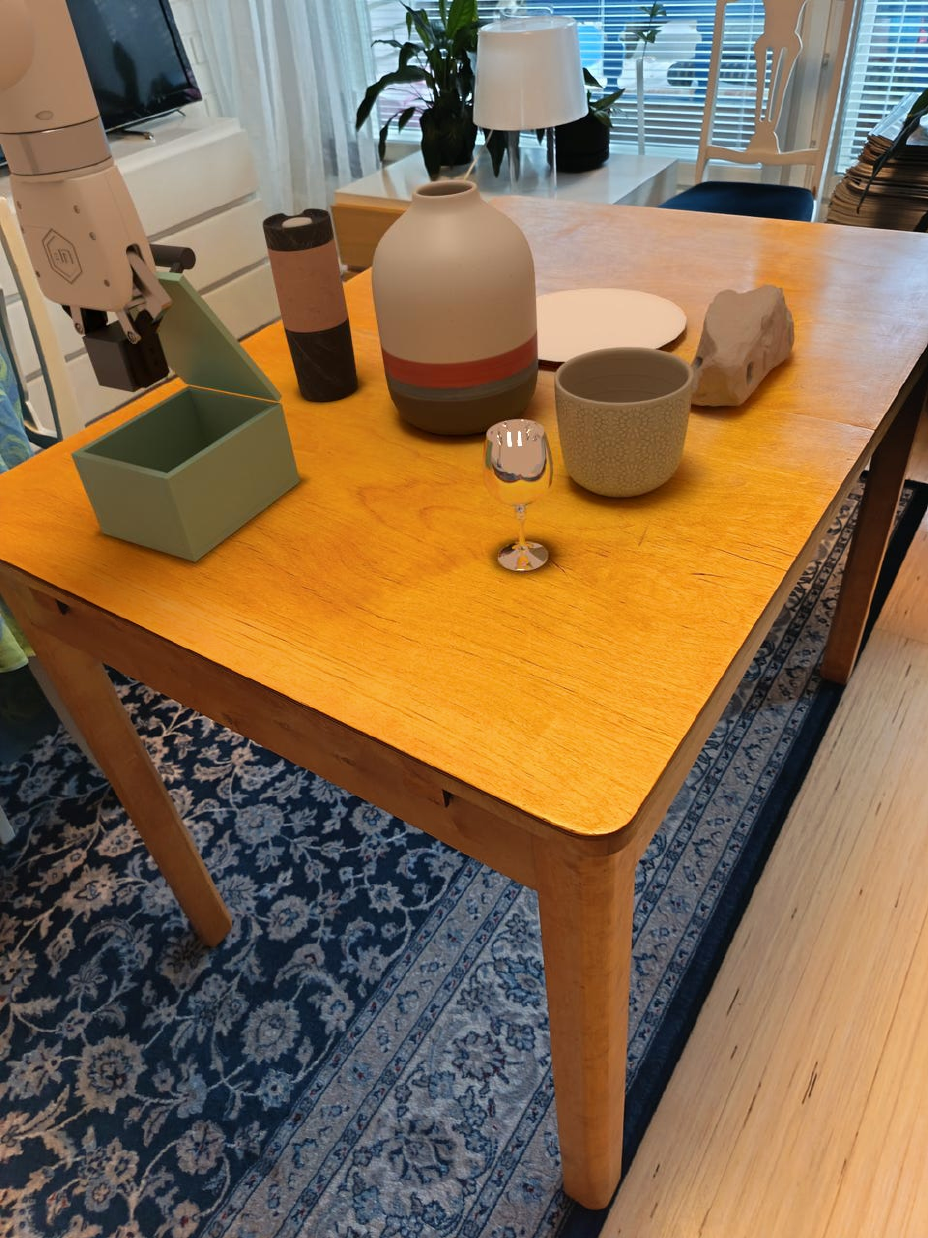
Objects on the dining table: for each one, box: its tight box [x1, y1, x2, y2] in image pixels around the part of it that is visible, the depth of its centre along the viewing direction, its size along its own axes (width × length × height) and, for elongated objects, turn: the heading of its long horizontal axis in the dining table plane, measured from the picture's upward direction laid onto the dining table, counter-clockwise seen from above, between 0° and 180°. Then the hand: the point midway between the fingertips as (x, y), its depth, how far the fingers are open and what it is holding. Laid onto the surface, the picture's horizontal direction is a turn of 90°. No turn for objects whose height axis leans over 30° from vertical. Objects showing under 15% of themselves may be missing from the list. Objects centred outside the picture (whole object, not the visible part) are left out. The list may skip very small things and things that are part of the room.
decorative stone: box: [690, 284, 795, 407], centre depth 99 cm, size 20×8×10 cm, turn 145°
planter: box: [553, 347, 694, 498], centre depth 85 cm, size 12×12×11 cm
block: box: [81, 319, 171, 393], centre depth 79 cm, size 4×4×4 cm
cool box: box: [70, 385, 301, 563], centre depth 89 cm, size 16×13×9 cm
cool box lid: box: [129, 243, 283, 403], centre depth 84 cm, size 16×13×5 cm
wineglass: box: [481, 418, 554, 572], centre depth 76 cm, size 6×6×12 cm
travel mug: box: [262, 207, 359, 403], centre depth 105 cm, size 8×8×20 cm
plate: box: [536, 287, 688, 365], centre depth 117 cm, size 25×25×2 cm
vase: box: [370, 179, 539, 436], centre depth 96 cm, size 17×17×24 cm
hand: (133, 375), depth 80 cm, fingers closed on block, 4 cm apart
